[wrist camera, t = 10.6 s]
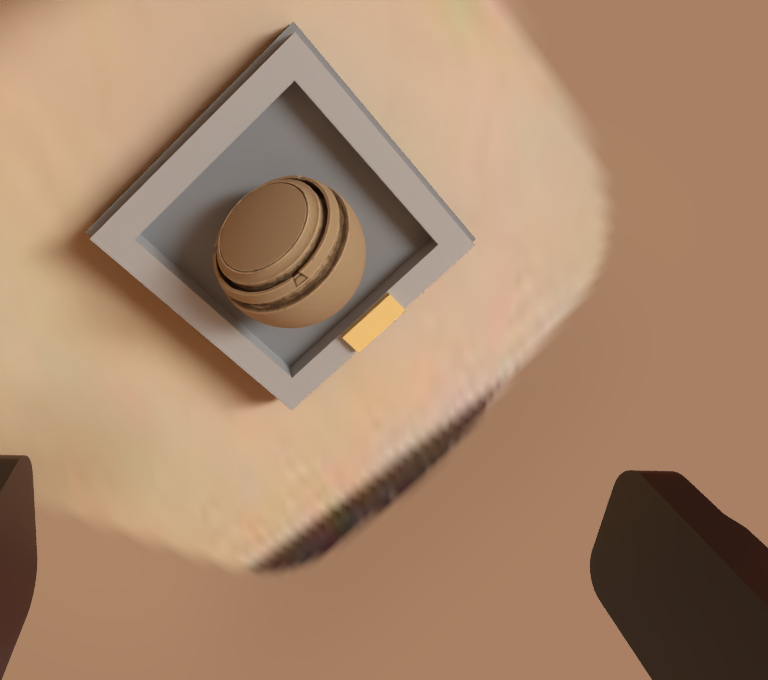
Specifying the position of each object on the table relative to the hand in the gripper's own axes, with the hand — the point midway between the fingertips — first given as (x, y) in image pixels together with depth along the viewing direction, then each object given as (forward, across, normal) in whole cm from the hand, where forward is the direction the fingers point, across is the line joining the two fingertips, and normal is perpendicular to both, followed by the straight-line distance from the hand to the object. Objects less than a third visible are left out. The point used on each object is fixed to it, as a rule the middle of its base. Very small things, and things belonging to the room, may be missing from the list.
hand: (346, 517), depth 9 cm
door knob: (+16, 0, 0) cm, 17 cm away
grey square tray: (+18, 0, 0) cm, 18 cm away
